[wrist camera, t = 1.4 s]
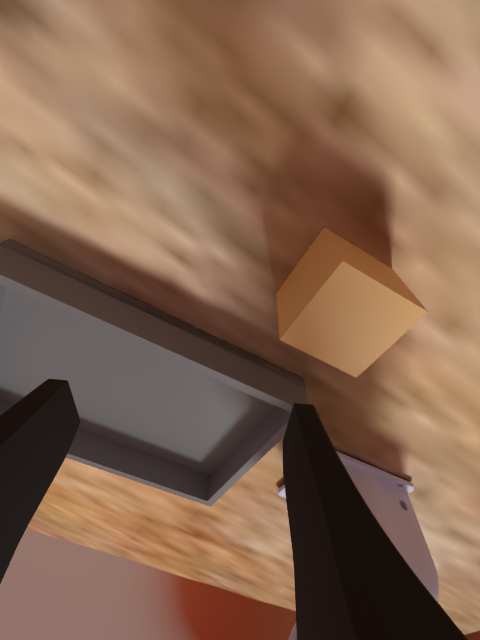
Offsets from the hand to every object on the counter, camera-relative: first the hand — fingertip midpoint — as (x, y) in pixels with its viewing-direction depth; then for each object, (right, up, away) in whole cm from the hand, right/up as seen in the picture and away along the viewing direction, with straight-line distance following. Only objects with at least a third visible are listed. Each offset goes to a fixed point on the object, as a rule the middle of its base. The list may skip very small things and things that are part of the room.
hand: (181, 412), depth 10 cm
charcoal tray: (-6, -2, +13) cm, 14 cm away
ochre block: (+7, +5, +8) cm, 12 cm away
